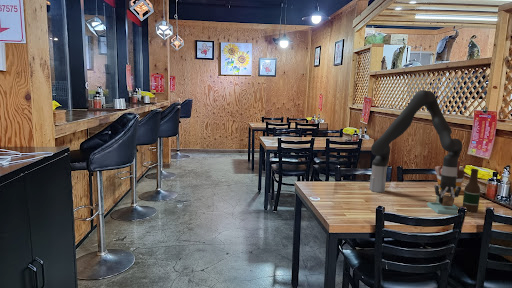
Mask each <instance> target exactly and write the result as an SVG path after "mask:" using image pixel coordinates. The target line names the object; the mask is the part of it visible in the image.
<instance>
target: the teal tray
mask: <svg viewBox="0 0 512 288" xmlns="http://www.w3.org/2000/svg"><path fill="white" fill-rule="evenodd" d="M426 206H427V207H428V208H430V209H431V210H432V211H434V212H435V213H436V214H439V215H441V214H442V215H444V214H445V215H456V214H457V211H458V208H460V207H459V206H457V205H456V204H454V203H453V206H443V205H441V204H440V203H436V201H435V202H430V201H429V202H428V201H427V204H426Z"/></svg>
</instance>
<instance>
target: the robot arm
mask: <svg viewBox="0 0 512 288" xmlns="http://www.w3.org/2000/svg"><path fill="white" fill-rule="evenodd" d="M423 107H424V108H426V110H427V111H428V112H429V114H430V117H431V122H432V125H433V128H434V130H435V131H436V133H437V135H438V137H439V141H440V144H441V148H442V149H443V150H444V151H446V152H448V153H447V154H446V155H445V156H444V157H443V162H442V172H441V173H442V174H441V183H440V185H438V184H435V185H433V186H434V192H435V196H436V195H437V196H439V203H440V204H442V202H443V198H442V197H443V196H444V195H446V193H448V192H449V195H450V196H451V197H453V204H454V203H455V198H458V197H459V196H460V193H461V190H462V187H461V186H460V187H459V186H456V179H457V165H458V161H459V158H460V156H461V153H462V150H463V142H462V141H461V140H460V139H459V138H452V136H451V135H452V133H453V129H452V128H451V126H450V124H449V123H448V121H447V120H446V118H445V116H444V114H443V112H442V110H441V107H440V105H439V102H438V100H437V96H436V94H435V93H434V92H432V91H431V90H430V91H429V90H426V89H425V90H424V89H422V90H418V91H417V92H416V93H415V94H414V95H413V97H412V98H411V99H410V100H409V102H408V104H407V105H406V107H405V108H404V109H403V110H402V111H401V112H400V113H399V115H398V116H397V117H396V118H395V119H394V120H393V121H392V123H391V124H390V125H389V127H388V128H387V129H386V130H385V131H384V133H382V134H381V136H379V138H378V139H376V140H375V141H374V142H373V143H372V145H371V147H370V151H371V153H372V155H374V156H375V158H374V159H373V160H372V163H371V175H370V176H369V190H370V191H371V192H375V193H385V191H386V180H387V168H388V162H389V160H390V154H391V146H390V144H391V143H392V142H393V141H395V140H396V139H398V138H400V137H401V136H402V135H403V134H404V133H405V132H406V131H407V130H408V129H409V128H410V127H411V125H412V123H413V121H414V117H415V115H416V114H417V113H418V112H419V110H420V109H422V108H423ZM440 187H441V190H440ZM455 188H456V191H455V193H454V189H455Z"/></svg>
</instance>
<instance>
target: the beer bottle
mask: <svg viewBox="0 0 512 288" xmlns="http://www.w3.org/2000/svg"><path fill="white" fill-rule="evenodd" d="M478 175H479V169H478V168H471V169H470V175H469V181H468V183H467V184H466V185H465V187H464V190H463V198H462V199H463V200H462V207H466V208H467V212H466V213H472V214H473V213H474V214H475V213H478V211H479V205H480V199H481V198H480V197H481V187H480V185H479V181H478V177H479V176H478ZM462 207H461V208H462Z"/></svg>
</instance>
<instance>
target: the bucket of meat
mask: <svg viewBox="0 0 512 288" xmlns="http://www.w3.org/2000/svg"><path fill="white" fill-rule="evenodd" d="M460 163H461V162H460V161H459V160H458V165H457V179H456V186H459V187H461V186H462V184H463V181H464V179H465V175H466V172H465V169H466V167H467V165H466V164H463V165H462V166H461V165H460ZM442 167H443V165H442V166H441V165H438V166H435V167H434V170H435V173H436V179H437V185H440V183H441V174H442V173H441V172H442ZM439 191H441V187H440V189H439ZM455 191H456V188H455V189H454V193H455ZM447 193H449V192H447ZM449 194H450V193H449Z"/></svg>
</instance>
